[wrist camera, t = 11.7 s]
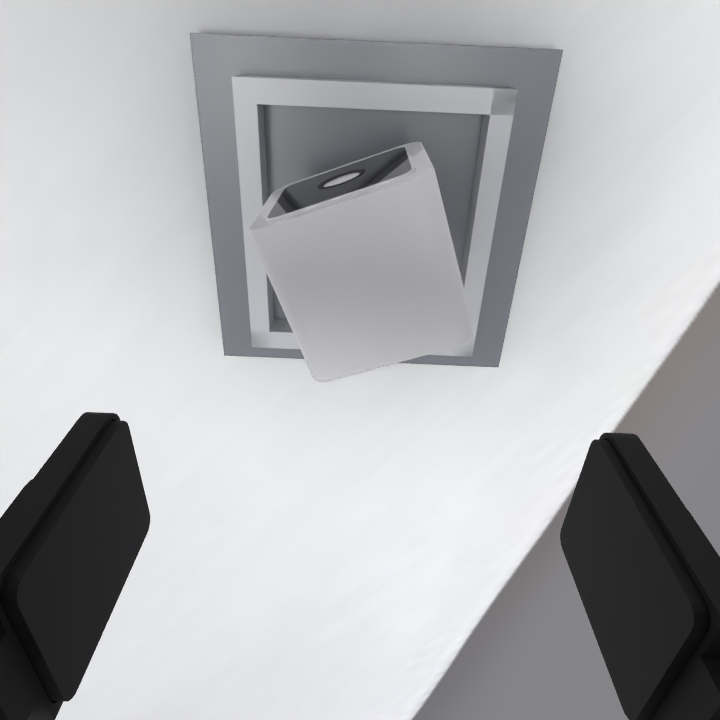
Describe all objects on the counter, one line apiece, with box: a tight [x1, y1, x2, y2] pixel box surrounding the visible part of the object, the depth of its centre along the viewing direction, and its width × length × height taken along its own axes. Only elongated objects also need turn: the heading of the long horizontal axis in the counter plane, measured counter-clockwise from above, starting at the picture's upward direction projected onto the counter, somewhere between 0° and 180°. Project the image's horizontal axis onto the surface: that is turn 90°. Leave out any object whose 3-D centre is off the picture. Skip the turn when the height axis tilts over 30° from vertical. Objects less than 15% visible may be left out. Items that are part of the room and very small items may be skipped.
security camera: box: [248, 142, 474, 382], centre depth 22 cm, size 6×7×10 cm
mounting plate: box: [190, 33, 563, 367], centre depth 27 cm, size 16×16×3 cm
